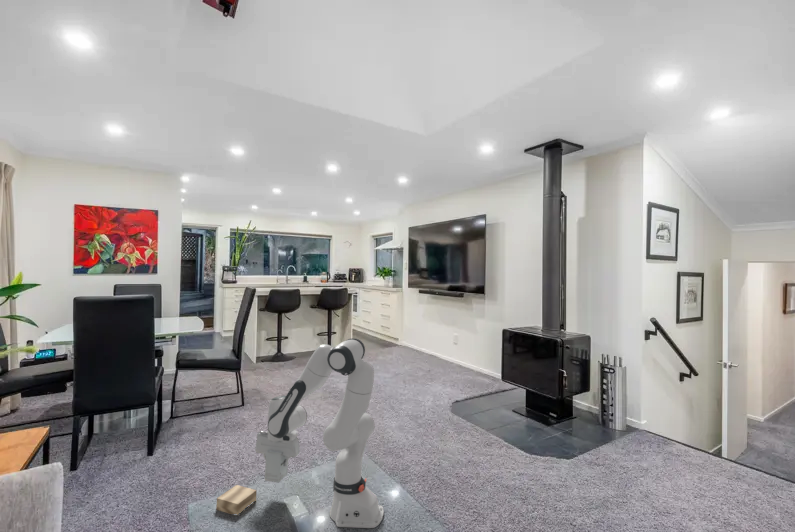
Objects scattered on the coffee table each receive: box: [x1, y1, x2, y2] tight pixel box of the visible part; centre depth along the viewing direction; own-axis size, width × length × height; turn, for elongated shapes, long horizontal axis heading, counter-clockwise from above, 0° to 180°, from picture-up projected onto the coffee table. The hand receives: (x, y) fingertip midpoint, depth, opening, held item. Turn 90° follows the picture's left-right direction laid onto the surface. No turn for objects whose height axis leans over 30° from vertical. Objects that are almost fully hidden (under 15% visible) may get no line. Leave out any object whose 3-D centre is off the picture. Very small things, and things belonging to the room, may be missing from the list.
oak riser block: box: [215, 484, 257, 516], centre depth 156 cm, size 11×11×5 cm
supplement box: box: [264, 450, 289, 484], centre depth 164 cm, size 7×7×13 cm
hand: (276, 464), depth 164 cm, fingers closed on supplement box, 7 cm apart
